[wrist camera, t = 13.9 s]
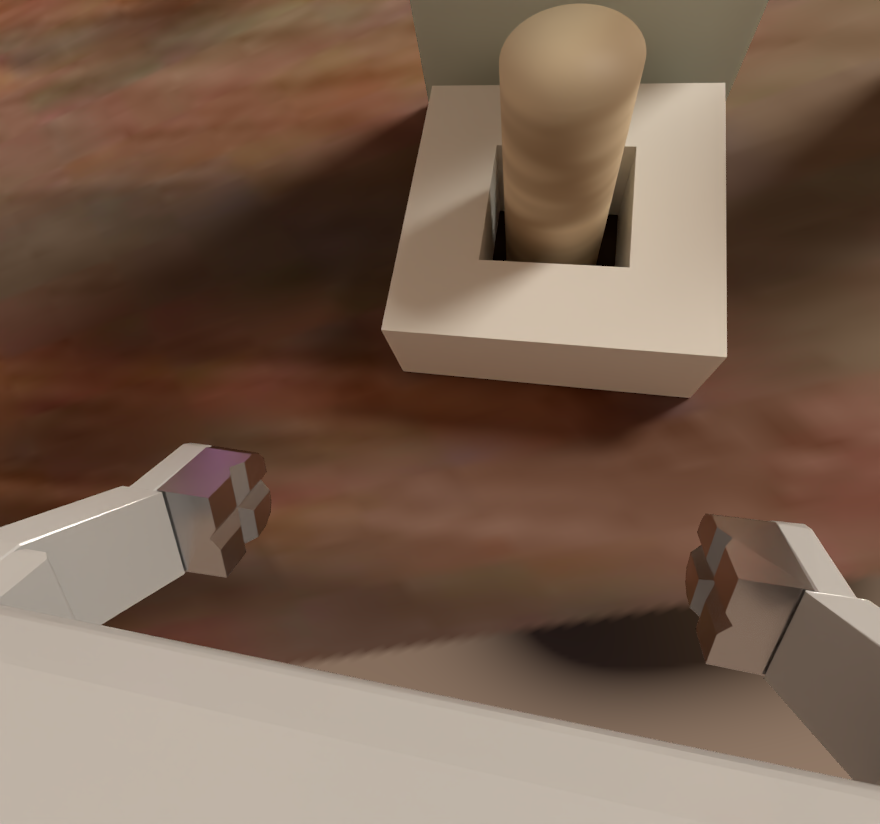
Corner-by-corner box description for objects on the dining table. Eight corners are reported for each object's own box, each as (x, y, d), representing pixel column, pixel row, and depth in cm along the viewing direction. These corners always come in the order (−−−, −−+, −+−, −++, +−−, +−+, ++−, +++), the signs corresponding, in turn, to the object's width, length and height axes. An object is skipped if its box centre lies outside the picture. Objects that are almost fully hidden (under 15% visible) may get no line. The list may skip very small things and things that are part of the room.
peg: (501, 298, 24) (490, 110, 14) (511, 224, 25) (507, 5, 15) (592, 304, 23) (643, 110, 14) (598, 227, 24) (649, 0, 15)
